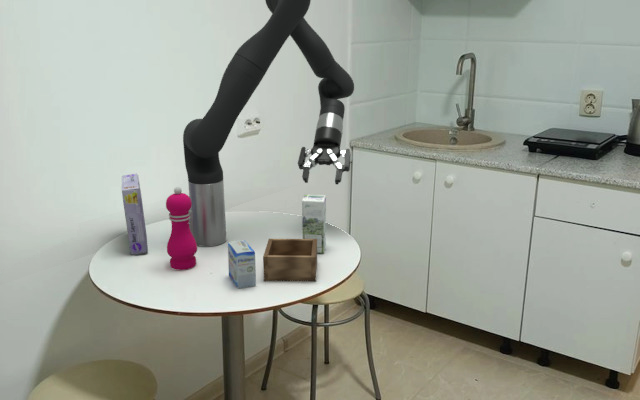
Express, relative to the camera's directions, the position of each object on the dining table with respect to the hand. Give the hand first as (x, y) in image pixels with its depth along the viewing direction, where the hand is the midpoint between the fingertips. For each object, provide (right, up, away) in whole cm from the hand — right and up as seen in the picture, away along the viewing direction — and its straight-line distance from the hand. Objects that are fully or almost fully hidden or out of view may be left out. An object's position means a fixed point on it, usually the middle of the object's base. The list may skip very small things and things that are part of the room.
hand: (321, 182), depth 159 cm
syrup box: (-2, -18, -4) cm, 19 cm away
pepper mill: (-34, -21, -14) cm, 42 cm away
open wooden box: (-7, -22, -18) cm, 29 cm away
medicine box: (-18, -24, -23) cm, 38 cm away
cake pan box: (-50, -17, +1) cm, 53 cm away
